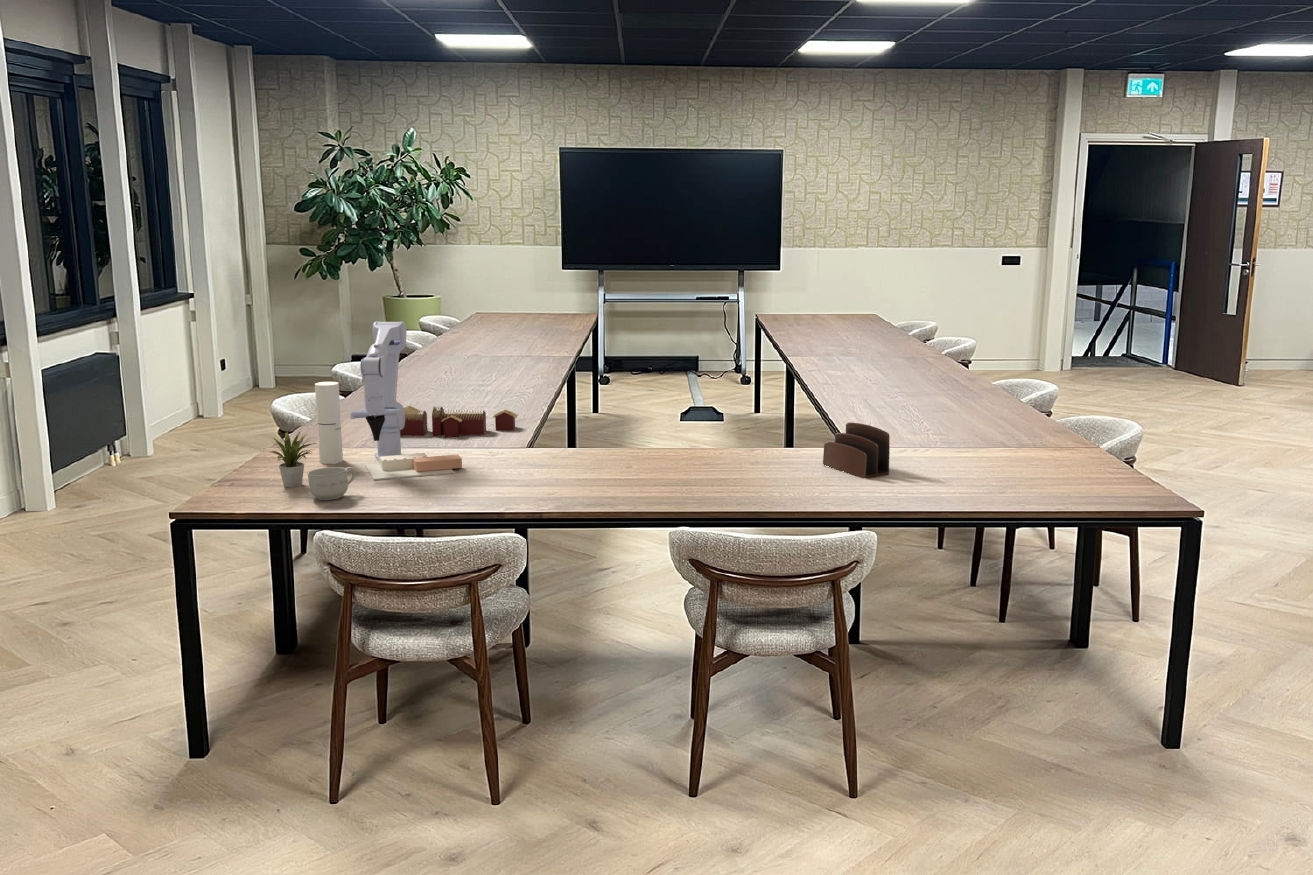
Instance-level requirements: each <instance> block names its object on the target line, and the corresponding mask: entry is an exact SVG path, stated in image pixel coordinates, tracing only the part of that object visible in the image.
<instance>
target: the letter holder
mask: <svg viewBox="0 0 1313 875" xmlns="http://www.w3.org/2000/svg"><path fill="white" fill-rule="evenodd" d="M890 439H891V438H890V433H889V432H887V431H885V430H883V429H880V428H879V427H876V426H872V425H868V424H865V423H858V422H846V424H845V432H836V433H835V435H834V441H826V442H824V445H823V455H822V465H823V464H824V465H826V466H829V467H831V468H830V469H832V468H834V469H833V470H835V469H836V471H838V470H839V472H842V471H844V472H843V473H845V472H846V473H845V474H848V473H849V474H848V475H852V476H855V477H858V478H860V479H864V478H868V479H872V478H874V479H875V478H880V477H885V476H889V475H890V456H891V454H890ZM826 466H825V467H826ZM829 467H828V468H829Z"/></svg>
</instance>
